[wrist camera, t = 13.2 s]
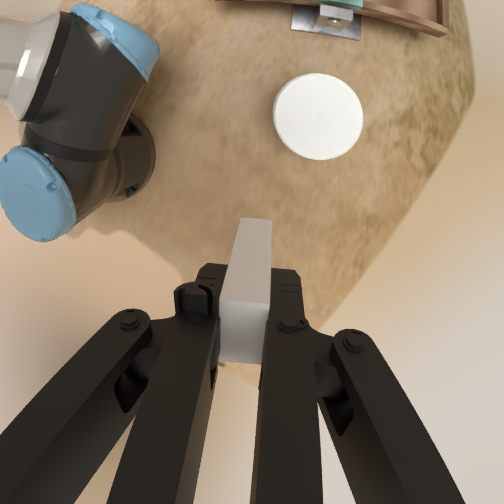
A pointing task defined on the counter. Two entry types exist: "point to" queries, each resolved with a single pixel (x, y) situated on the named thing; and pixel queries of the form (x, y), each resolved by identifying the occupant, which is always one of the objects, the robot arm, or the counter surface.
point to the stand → (326, 20)
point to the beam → (394, 12)
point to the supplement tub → (317, 116)
